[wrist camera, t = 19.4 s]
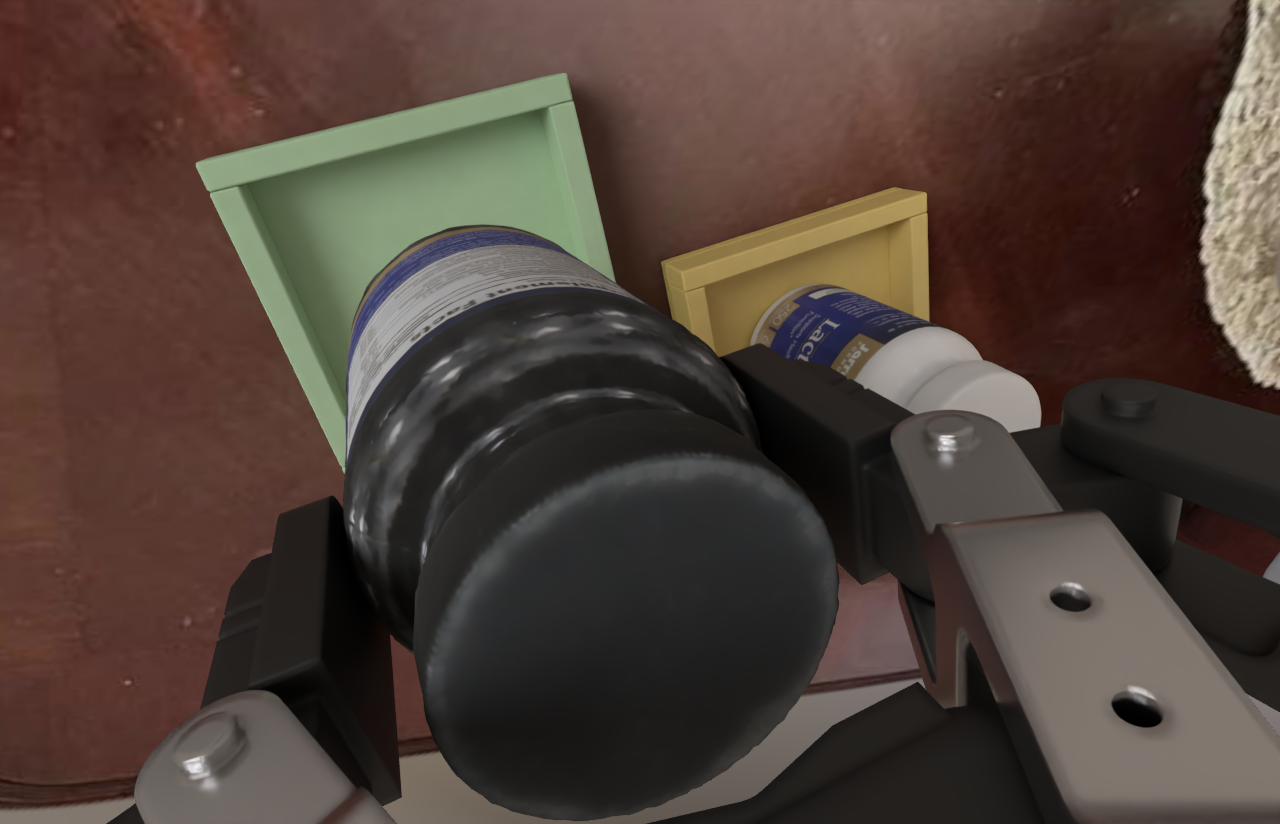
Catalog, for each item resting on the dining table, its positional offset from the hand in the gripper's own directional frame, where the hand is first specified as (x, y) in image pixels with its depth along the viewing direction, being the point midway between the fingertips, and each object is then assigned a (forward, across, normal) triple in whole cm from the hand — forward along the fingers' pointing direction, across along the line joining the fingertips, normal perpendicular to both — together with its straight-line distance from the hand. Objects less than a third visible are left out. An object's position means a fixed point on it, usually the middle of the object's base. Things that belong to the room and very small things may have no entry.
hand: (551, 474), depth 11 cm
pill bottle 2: (+15, -13, +7) cm, 21 cm away
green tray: (+15, 0, 0) cm, 15 cm away
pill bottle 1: (+7, 0, 0) cm, 7 cm away
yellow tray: (+15, -13, +7) cm, 21 cm away
